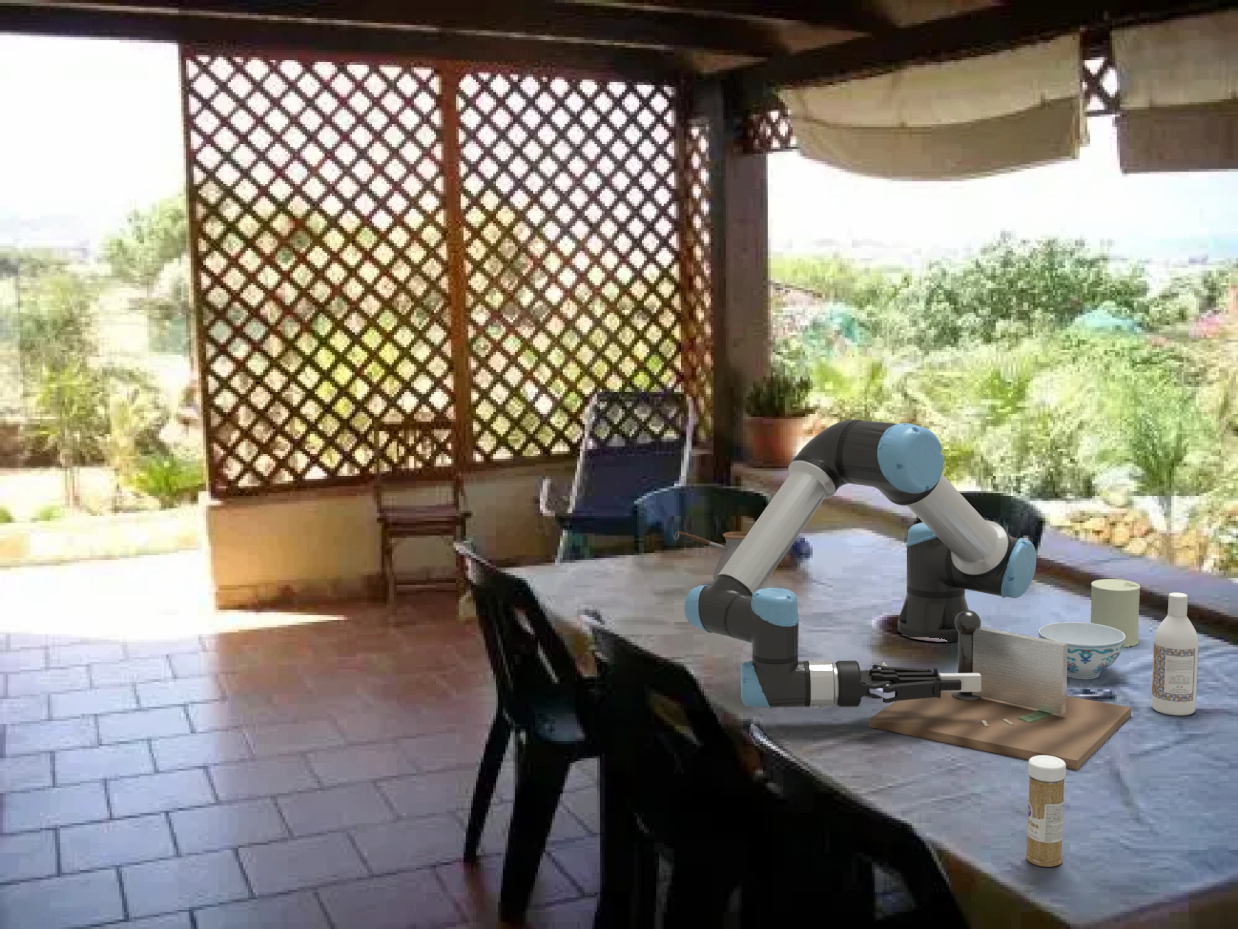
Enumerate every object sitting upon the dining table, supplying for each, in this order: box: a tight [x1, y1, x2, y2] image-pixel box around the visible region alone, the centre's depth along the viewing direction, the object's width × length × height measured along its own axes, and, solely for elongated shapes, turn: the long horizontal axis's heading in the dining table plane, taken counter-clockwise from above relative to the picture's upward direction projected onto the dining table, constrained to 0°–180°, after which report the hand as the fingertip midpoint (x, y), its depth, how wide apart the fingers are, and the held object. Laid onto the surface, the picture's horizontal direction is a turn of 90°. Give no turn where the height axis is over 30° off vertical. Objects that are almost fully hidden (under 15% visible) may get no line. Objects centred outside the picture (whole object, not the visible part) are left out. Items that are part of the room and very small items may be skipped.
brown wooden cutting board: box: [869, 672, 1132, 771], centre depth 219 cm, size 34×28×2 cm
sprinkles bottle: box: [1025, 755, 1067, 868], centre depth 168 cm, size 5×5×13 cm
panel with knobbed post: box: [954, 609, 1068, 715], centre depth 221 cm, size 20×4×14 cm, turn 47°
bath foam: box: [1150, 592, 1200, 716], centre depth 221 cm, size 7×7×20 cm
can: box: [1090, 578, 1141, 648], centre depth 261 cm, size 9×9×12 cm
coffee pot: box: [673, 530, 748, 581], centre depth 309 cm, size 21×12×15 cm, turn 109°
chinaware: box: [1038, 621, 1125, 680], centre depth 242 cm, size 15×15×8 cm
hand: (979, 682), depth 216 cm, fingers closed
